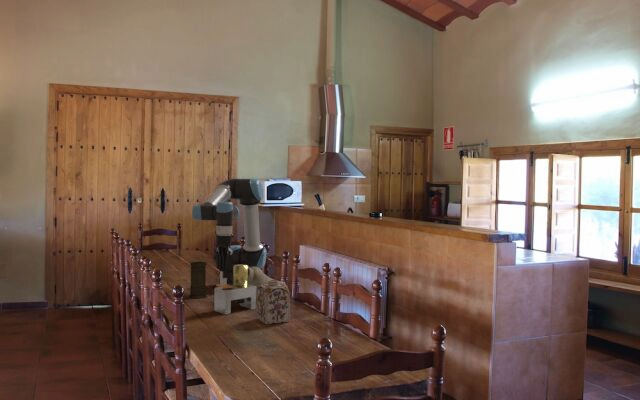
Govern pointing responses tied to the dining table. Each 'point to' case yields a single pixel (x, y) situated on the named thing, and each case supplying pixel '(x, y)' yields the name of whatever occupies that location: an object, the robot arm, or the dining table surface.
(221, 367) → the dining table surface
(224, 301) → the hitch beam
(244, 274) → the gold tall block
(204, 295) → the container
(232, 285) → the keeper flap
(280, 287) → the decorative jar
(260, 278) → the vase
